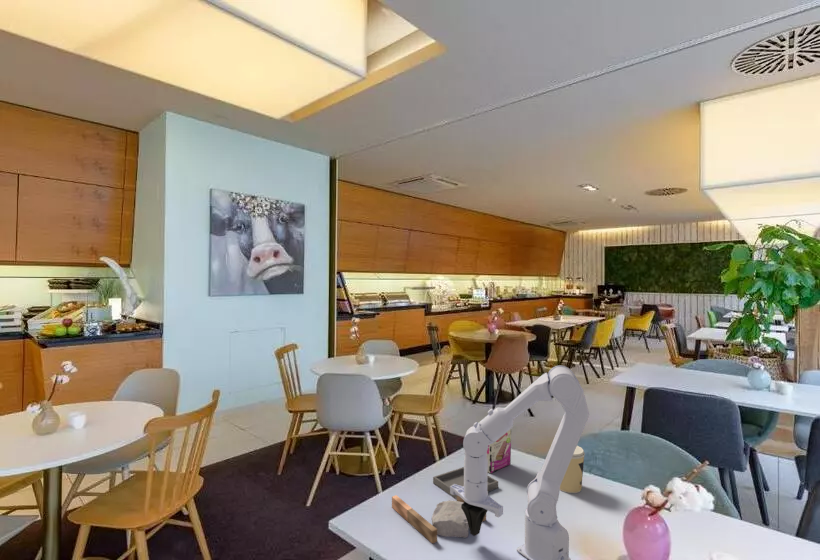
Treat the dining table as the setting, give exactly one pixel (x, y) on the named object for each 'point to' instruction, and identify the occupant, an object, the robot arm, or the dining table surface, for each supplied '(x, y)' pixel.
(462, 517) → the stone block
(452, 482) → the tray
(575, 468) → the coffee cup
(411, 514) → the pair of wooden bars
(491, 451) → the candy bar box
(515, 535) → the dining table surface
